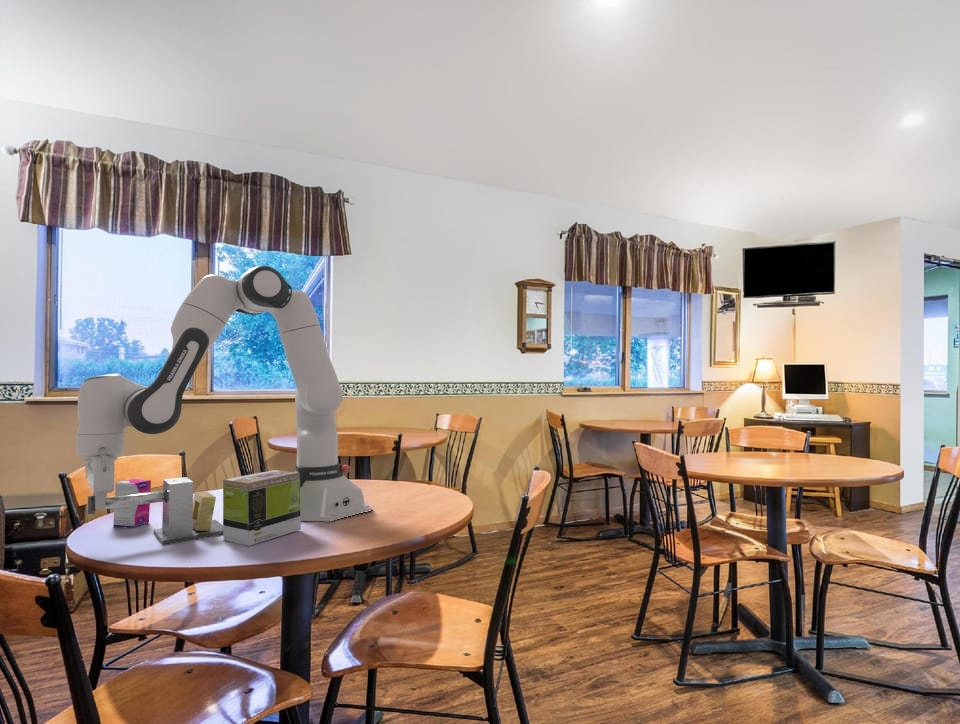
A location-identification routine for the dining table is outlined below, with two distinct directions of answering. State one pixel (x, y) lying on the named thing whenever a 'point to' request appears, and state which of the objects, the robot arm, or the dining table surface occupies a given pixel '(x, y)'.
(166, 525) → the stand
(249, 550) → the dining table surface
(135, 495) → the shaft
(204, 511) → the block
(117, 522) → the supplement box
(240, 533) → the tea box
